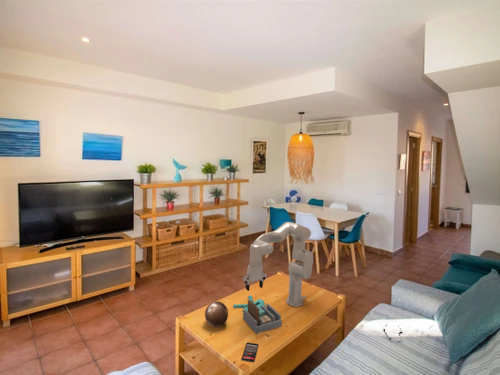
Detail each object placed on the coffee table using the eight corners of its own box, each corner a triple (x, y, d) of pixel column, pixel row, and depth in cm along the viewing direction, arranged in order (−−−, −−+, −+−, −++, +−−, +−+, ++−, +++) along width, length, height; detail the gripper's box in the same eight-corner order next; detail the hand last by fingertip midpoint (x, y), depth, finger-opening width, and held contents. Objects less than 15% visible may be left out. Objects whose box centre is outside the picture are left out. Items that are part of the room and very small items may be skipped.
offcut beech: (266, 322, 191) (266, 315, 191) (270, 327, 186) (271, 319, 185) (258, 324, 188) (258, 317, 188) (262, 329, 183) (263, 322, 183)
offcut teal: (258, 311, 197) (258, 307, 197) (264, 315, 192) (264, 311, 192) (253, 313, 194) (253, 309, 194) (258, 317, 189) (259, 313, 189)
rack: (266, 312, 203) (267, 302, 203) (281, 326, 187) (281, 316, 186) (242, 318, 194) (243, 308, 194) (256, 333, 178) (256, 323, 178)
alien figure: (233, 308, 208) (255, 318, 196) (233, 305, 208) (255, 315, 196) (249, 297, 224) (271, 306, 212) (249, 295, 224) (271, 303, 212)
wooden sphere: (200, 327, 183) (200, 305, 181) (213, 316, 196) (213, 295, 195) (220, 334, 176) (220, 311, 175) (232, 322, 190) (232, 300, 188)
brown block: (249, 319, 193) (250, 300, 192) (258, 329, 183) (259, 308, 181) (247, 320, 192) (247, 300, 191) (255, 330, 182) (256, 309, 180)
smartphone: (241, 359, 155) (246, 342, 170) (241, 360, 155) (246, 343, 170) (254, 361, 154) (258, 344, 168) (254, 363, 154) (258, 345, 168)
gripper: (264, 259, 190) (262, 284, 192) (240, 262, 182) (239, 288, 184) (270, 263, 184) (268, 288, 186) (246, 267, 176) (245, 293, 178)
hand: (254, 288), depth 185 cm, fingers open, 9 cm apart
